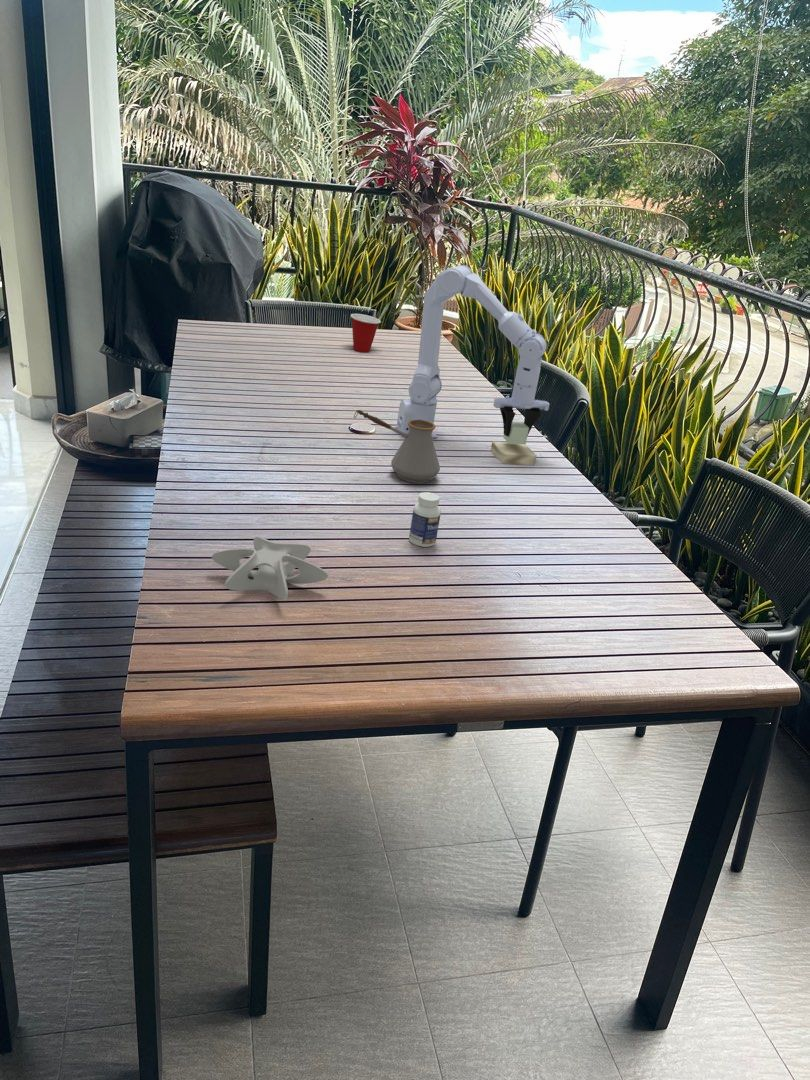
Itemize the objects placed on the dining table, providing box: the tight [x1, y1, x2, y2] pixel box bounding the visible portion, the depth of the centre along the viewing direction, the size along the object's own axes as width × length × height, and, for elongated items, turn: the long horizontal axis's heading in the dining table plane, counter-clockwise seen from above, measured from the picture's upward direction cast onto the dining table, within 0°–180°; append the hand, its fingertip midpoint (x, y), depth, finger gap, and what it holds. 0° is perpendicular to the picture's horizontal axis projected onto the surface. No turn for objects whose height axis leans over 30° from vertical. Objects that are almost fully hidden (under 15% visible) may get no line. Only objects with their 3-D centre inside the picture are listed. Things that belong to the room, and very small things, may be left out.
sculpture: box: [211, 536, 329, 600], centre depth 141 cm, size 18×20×6 cm
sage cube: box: [502, 421, 529, 445], centre depth 215 cm, size 4×4×4 cm
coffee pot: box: [353, 409, 441, 484], centre depth 191 cm, size 21×12×15 cm, turn 99°
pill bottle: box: [408, 491, 442, 548], centre depth 163 cm, size 5×5×10 cm
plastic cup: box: [350, 313, 382, 353], centre depth 296 cm, size 11×11×12 cm
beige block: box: [490, 441, 537, 466], centre depth 216 cm, size 9×9×3 cm
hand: (515, 435), depth 215 cm, fingers open, 4 cm apart
